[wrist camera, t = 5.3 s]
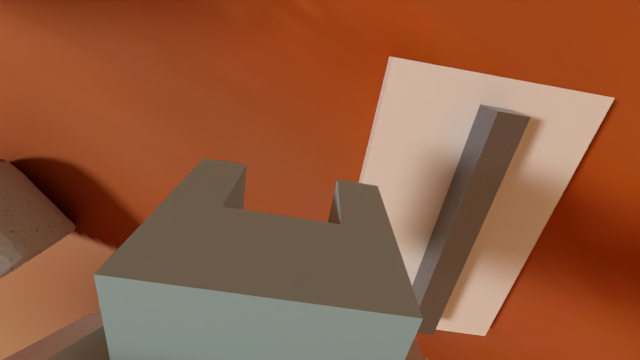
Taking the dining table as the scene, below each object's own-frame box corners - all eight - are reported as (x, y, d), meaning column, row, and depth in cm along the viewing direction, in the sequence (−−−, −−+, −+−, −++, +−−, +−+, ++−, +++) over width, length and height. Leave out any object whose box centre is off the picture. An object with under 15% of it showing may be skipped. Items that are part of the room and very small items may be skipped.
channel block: (204, 158, 11) (94, 274, 6) (377, 185, 12) (422, 318, 6) (202, 312, 15) (132, 475, 9) (336, 329, 15) (343, 496, 10)
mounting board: (389, 56, 22) (393, 56, 21) (597, 94, 23) (614, 97, 22) (329, 303, 32) (329, 314, 31) (478, 323, 33) (484, 336, 31)
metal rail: (480, 104, 22) (498, 111, 20) (509, 109, 22) (530, 117, 20) (403, 309, 30) (409, 331, 28) (425, 312, 30) (433, 334, 28)
